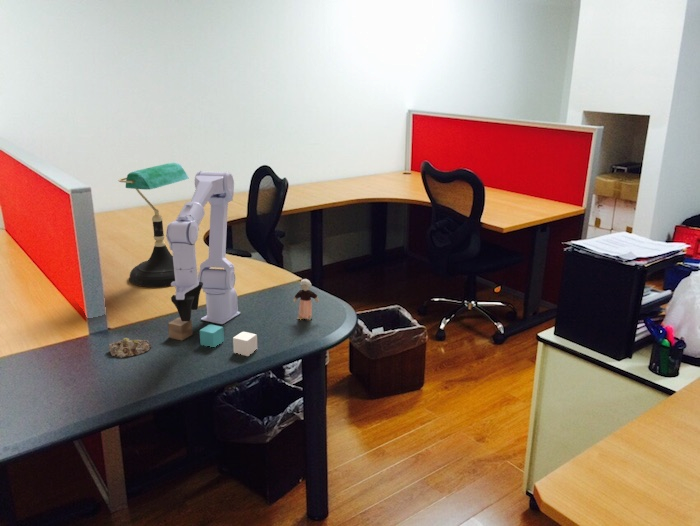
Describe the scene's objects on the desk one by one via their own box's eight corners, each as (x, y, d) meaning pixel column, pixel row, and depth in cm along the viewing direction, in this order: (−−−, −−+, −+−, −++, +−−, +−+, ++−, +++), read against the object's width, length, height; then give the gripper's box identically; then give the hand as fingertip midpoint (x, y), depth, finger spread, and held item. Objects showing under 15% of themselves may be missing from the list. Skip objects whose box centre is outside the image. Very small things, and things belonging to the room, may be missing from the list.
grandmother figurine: (294, 321, 175) (293, 281, 171) (293, 316, 179) (292, 277, 175) (319, 320, 176) (319, 280, 172) (318, 315, 180) (317, 276, 176)
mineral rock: (105, 353, 151) (110, 332, 158) (107, 365, 154) (112, 345, 160) (148, 350, 153) (151, 330, 160) (150, 363, 156) (153, 343, 162)
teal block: (211, 338, 164) (209, 324, 163) (224, 341, 162) (223, 327, 161) (200, 345, 160) (199, 330, 159) (214, 348, 159) (212, 333, 157)
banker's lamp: (168, 292, 198) (156, 174, 186) (112, 284, 205) (97, 170, 193) (210, 268, 222) (202, 162, 210) (158, 262, 229) (148, 159, 217)
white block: (243, 346, 160) (242, 331, 158) (257, 349, 158) (256, 334, 157) (233, 353, 156) (232, 337, 155) (247, 356, 154) (247, 341, 153)
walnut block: (180, 331, 169) (178, 317, 167) (192, 334, 167) (191, 320, 165) (169, 337, 165) (167, 323, 163) (182, 340, 163) (180, 325, 162)
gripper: (177, 257, 158) (182, 304, 163) (161, 275, 145) (166, 326, 149) (203, 257, 159) (207, 304, 163) (189, 276, 145) (194, 326, 149)
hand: (189, 314), depth 156 cm, fingers open, 7 cm apart
